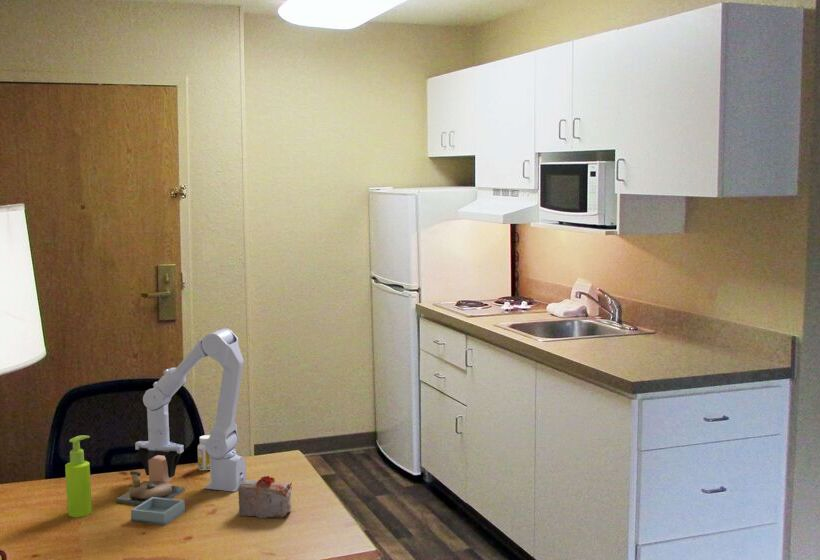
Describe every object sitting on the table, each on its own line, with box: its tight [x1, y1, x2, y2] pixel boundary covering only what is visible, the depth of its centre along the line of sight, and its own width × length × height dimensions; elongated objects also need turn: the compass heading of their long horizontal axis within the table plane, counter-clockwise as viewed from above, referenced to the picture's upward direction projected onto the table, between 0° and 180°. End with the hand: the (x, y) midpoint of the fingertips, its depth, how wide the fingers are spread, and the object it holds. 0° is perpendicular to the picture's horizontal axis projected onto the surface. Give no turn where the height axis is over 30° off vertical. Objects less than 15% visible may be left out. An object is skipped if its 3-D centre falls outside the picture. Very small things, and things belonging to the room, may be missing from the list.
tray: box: [130, 497, 186, 526], centre depth 230 cm, size 10×10×3 cm
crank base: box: [115, 485, 186, 506], centre depth 244 cm, size 13×13×1 cm
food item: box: [237, 475, 293, 520], centre depth 230 cm, size 14×8×10 cm, turn 81°
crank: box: [129, 470, 173, 499], centre depth 244 cm, size 12×11×5 cm
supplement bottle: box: [197, 434, 210, 471], centre depth 266 cm, size 5×5×10 cm
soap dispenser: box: [64, 434, 93, 518], centre depth 232 cm, size 6×7×20 cm
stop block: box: [148, 454, 173, 482], centre depth 255 cm, size 4×4×7 cm
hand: (160, 475), depth 255 cm, fingers open, 7 cm apart
